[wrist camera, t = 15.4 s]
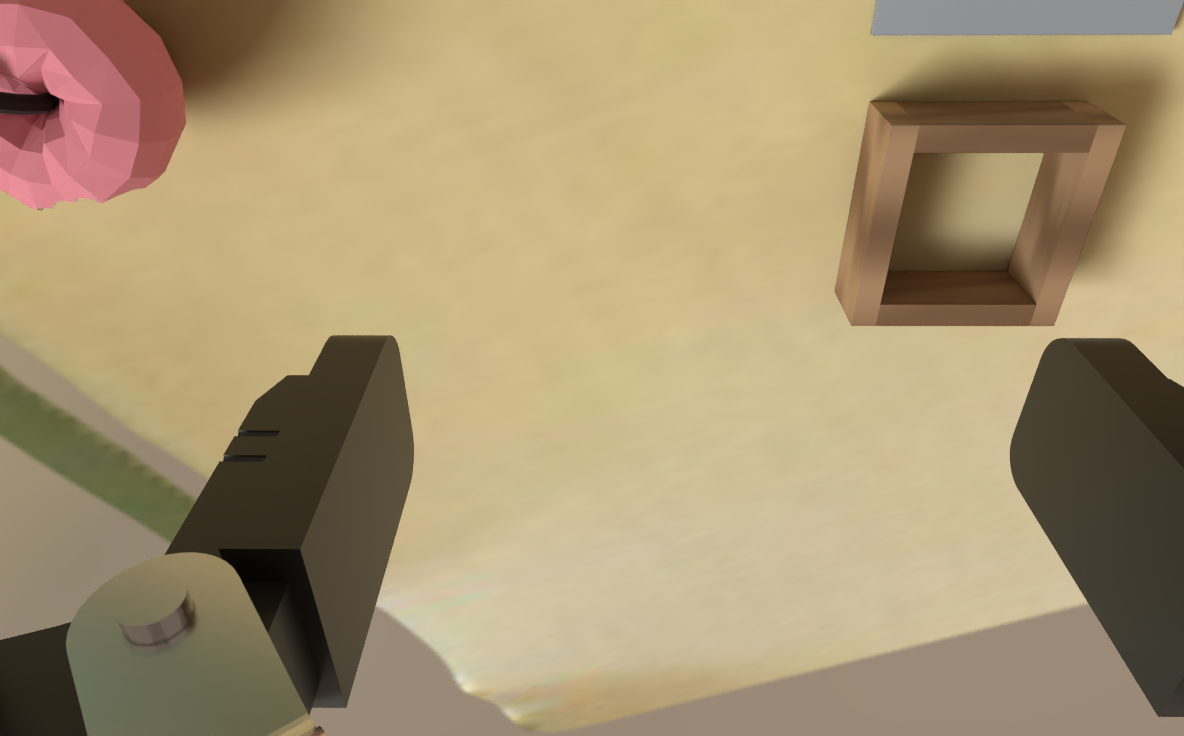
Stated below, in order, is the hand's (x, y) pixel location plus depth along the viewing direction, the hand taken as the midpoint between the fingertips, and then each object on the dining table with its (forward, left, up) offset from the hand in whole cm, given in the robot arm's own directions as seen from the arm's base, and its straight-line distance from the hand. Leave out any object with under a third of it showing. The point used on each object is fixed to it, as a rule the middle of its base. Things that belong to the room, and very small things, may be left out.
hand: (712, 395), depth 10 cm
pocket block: (+10, +16, -30) cm, 36 cm away
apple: (+3, -23, -30) cm, 38 cm away
